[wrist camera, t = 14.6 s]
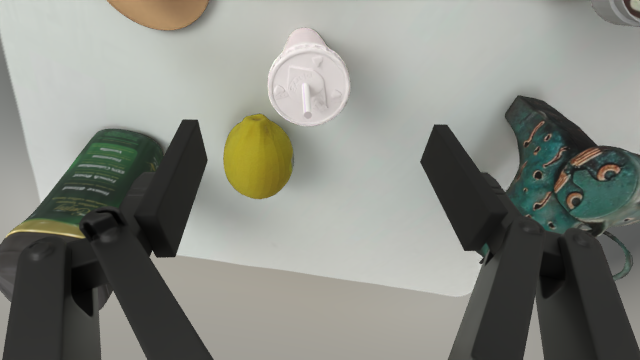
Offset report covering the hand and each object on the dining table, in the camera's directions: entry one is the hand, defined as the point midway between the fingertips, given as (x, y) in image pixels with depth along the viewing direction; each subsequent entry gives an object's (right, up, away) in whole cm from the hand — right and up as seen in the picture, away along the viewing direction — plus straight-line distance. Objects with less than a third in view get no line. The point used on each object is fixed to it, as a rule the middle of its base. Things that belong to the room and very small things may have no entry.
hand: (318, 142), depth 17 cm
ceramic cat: (+24, +2, +24) cm, 34 cm away
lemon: (-7, +3, +19) cm, 21 cm away
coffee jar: (-23, +1, +20) cm, 31 cm away
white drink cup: (-1, +11, +13) cm, 17 cm away
